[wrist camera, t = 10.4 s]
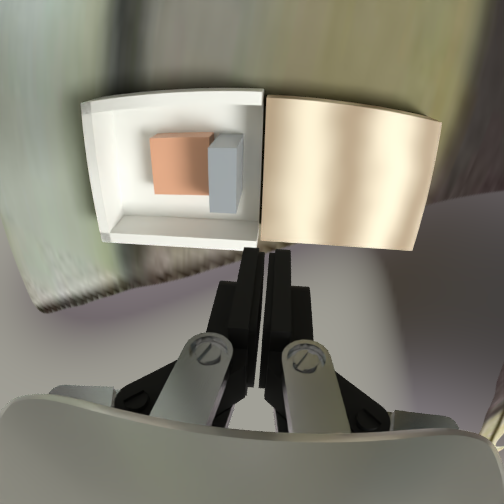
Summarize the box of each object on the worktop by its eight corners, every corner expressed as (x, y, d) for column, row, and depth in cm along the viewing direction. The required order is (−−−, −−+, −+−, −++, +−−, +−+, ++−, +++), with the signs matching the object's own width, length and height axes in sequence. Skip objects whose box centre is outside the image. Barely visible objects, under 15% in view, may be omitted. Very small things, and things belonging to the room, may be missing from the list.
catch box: (264, 88, 24) (261, 91, 20) (258, 228, 31) (256, 251, 27) (103, 96, 24) (80, 103, 21) (119, 222, 31) (102, 241, 28)
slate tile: (236, 148, 21) (207, 147, 21) (236, 213, 24) (209, 212, 24) (243, 134, 25) (219, 133, 26) (243, 189, 28) (220, 188, 28)
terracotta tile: (149, 138, 24) (157, 133, 26) (154, 194, 27) (161, 186, 28) (209, 137, 24) (213, 132, 25) (210, 195, 26) (215, 186, 28)
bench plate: (427, 116, 23) (442, 122, 21) (402, 234, 30) (412, 250, 27) (267, 94, 24) (266, 97, 21) (262, 224, 30) (260, 240, 28)
